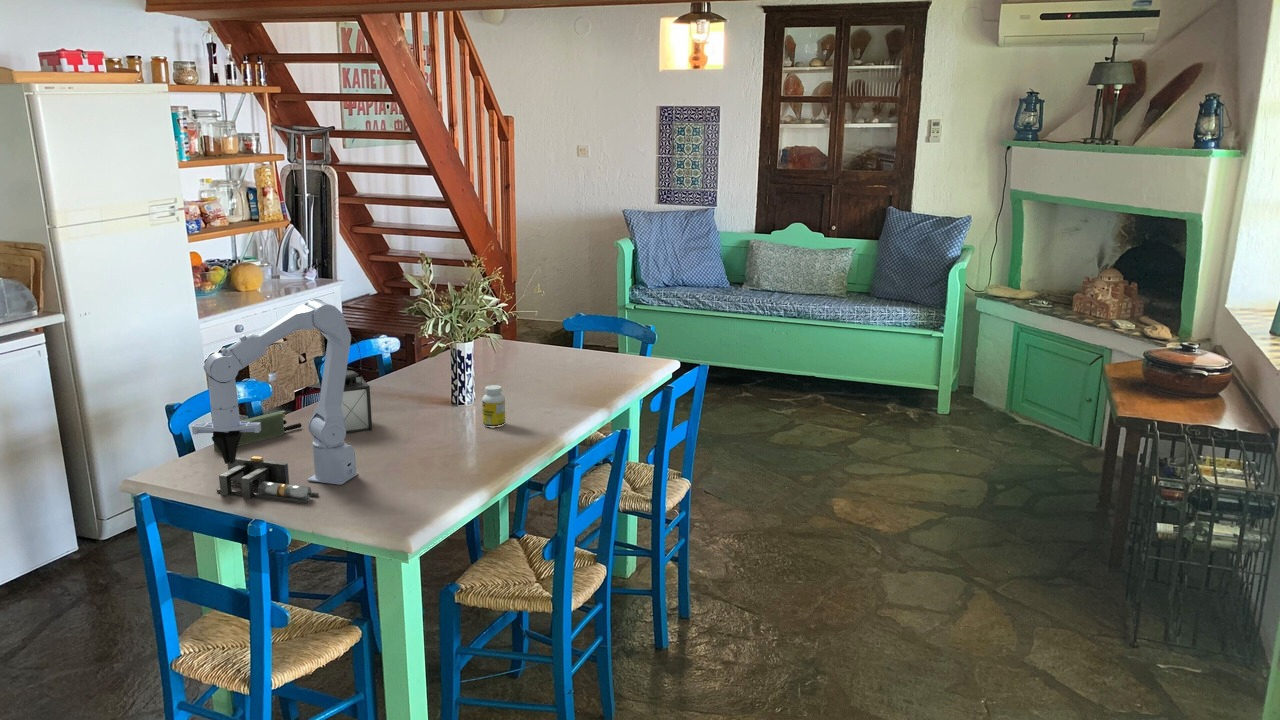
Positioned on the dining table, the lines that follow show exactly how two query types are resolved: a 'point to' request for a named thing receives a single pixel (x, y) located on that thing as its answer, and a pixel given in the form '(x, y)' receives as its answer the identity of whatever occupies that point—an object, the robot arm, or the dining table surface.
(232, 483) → the collar fixture
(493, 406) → the pill bottle
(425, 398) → the dining table surface
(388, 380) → the dining table surface
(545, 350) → the dining table surface
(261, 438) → the handheld radio
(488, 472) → the dining table surface
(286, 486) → the tube
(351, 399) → the lantern
